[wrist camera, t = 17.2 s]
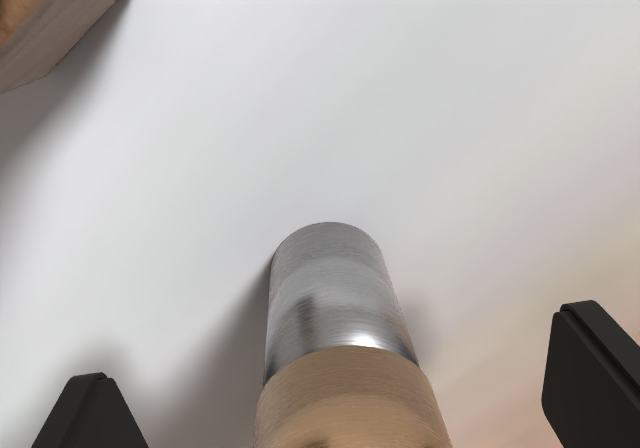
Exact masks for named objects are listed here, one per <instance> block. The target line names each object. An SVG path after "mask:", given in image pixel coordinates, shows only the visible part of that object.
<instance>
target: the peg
mask: <svg viewBox="0 0 640 448" xmlns="http://www.w3.org/2000/svg"><path fill="white" fill-rule="evenodd" d="M253 448H453V447H452V445H451V442H450V439H449V436H448V433H447V430H446V427H445V424H444V421H443V419H442V416H441V413H440V410H439V407H438V404H437V401H436V398H435V396H434V393H433V390H432V387H431V384H430V382H429V380H428V379H427V377H426V375H425V374H424V373H423V372H422V370H421V369H420V367H419V364H418V361H417V358H416V355H415V352H414V349H413V346H412V343H411V340H410V337H409V334H408V331H407V328H406V325H405V322H404V319H403V316H402V313H401V310H400V307H399V304H398V301H397V298H396V295H395V292H394V289H393V286H392V283H391V280H390V277H389V274H388V271H387V268H386V265H385V262H384V259H383V256H382V253H381V251H380V249H379V247H378V245H377V244H376V243H375V241H374V240H373V239H372V238H371V237H370V236H369V235H367V234H366V233H365V232H363V231H362V230H360V229H358V228H356V227H353V226H351V225H347V224H344V223H337V222H324V223H317V224H312V225H309V226H306V227H304V228H302V229H299V230H297V231H296V232H294V233H293V234H291V235H290V236H289V237H288V238H286V239H285V240H284V241H283V243H282V244H281V245H280V246H279V248H278V249H277V251H276V253H275V255H274V257H273V260H272V265H271V274H270V289H269V303H268V318H267V333H266V348H265V362H264V377H263V390H262V391H261V393H260V396H259V399H258V402H257V408H256V418H255V431H254V443H253Z"/></svg>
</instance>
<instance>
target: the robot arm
mask: <svg viewBox="0 0 640 448" xmlns="http://www.w3.org/2000/svg"><path fill="white" fill-rule="evenodd" d="M541 402H542V408H543V411H544V414H545V416H546V418H547V420H548V421H549V423H550V425H551V427H552V428H553V430H554V432H555V433H556V435H557V437H558V438H559V440H560V442H561V444H562V445H563V447H564V448H640V347H639V346H638V345H637V344H636V342H635V341H634V340H633V339H632V338H631V337H630V336H629V335H628V334H627V333H626V332H625V331H624V330H623V329H622V328H621V327H620V326H619V325H618V324H617V323H616V321H615V320H614V319H613V318H612V317H611V316H610V315H609V314H608V313H607V312H606V311H605V310H604V309H603V308H602V307H601V306H600V305H599V304H598V303H597V302H596V301H593V300H588V301H581V302H575V303H568V304H563V305H562V306H561V308H560V312H556V313H554V315H553V319H552V326H551V334H550V341H549V348H548V355H547V362H546V370H545V377H544V384H543V391H542V400H541ZM31 448H149V447H148V445H147V443H146V441H145V439H144V437H143V435H142V433H141V432H140V430H139V428H138V426H137V424H136V422H135V420H134V418H133V416H132V414H131V412H130V410H129V408H128V406H127V404H126V402H125V400H124V398H123V396H122V394H121V392H120V390H119V388H118V386H117V384H116V382H115V381H114V379H112V378H107V376H106V375H105V374H104V373H102V372H100V373H92V374H86V375H79V376H73V377H72V378H70V380H69V381H68V382H67V384H66V386H65V387H64V389H63V391H62V393H61V395H60V396H59V398H58V400H57V402H56V404H55V406H54V407H53V409H52V411H51V413H50V415H49V416H48V418H47V420H46V422H45V424H44V425H43V427H42V429H41V431H40V433H39V434H38V436H37V438H36V440H35V442H34V443H33V445H32V447H31Z"/></svg>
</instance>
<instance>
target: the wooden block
mask: <svg viewBox="0 0 640 448" xmlns="http://www.w3.org/2000/svg"><path fill="white" fill-rule="evenodd" d="M115 1H116V0H0V94H1V93H4V92H6V91H9V90H11V89H14V88H16V87H19V86H21V85H24V84H27V83H29V82H32V81H34V80H37V79H39V78H42V77H44V76H46V75H47V74H48V73H49V72H50V71H51V70H52V69H53V68H54V66H55V65H56V64H57V63H58V62H59V61H60V60H61V59H62V58H63V57H64V56H65V55H66V54H67V53H68V51H69V50H70V49H71V48H72V47H73V46H74V45H75V44H76V43H77V42H78V41H79V40H80V39H81V38H82V36H83V35H84V34H85V33H86V32H87V31H88V30H89V29H90V28H91V27H92V26H93V25H94V24H95V23H96V22H97V20H98V19H99V18H100V17H101V16H102V15H103V14H104V13H105V12H106V11H107V10H108V9H109V8H110V7H111V5H112V4H113V3H114V2H115Z"/></svg>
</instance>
